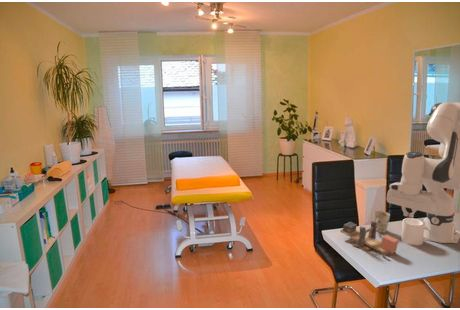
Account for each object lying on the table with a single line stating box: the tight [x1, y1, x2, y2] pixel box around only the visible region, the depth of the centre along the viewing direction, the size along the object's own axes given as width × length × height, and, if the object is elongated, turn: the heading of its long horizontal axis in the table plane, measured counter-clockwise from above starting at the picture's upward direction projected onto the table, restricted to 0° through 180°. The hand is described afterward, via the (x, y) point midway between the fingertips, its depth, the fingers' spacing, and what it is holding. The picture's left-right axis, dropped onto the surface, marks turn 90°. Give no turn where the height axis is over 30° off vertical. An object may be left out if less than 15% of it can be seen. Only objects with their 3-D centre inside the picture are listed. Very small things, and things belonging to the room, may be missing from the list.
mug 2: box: [400, 217, 431, 246], centre depth 182 cm, size 14×10×11 cm
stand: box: [352, 220, 387, 258], centre depth 176 cm, size 16×13×11 cm
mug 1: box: [373, 210, 391, 234], centre depth 194 cm, size 8×13×10 cm, turn 140°
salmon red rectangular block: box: [380, 234, 399, 254], centre depth 170 cm, size 6×4×6 cm, turn 39°
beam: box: [340, 221, 391, 256], centre depth 179 cm, size 26×9×7 cm, turn 39°
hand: (408, 216), depth 161 cm, fingers closed
